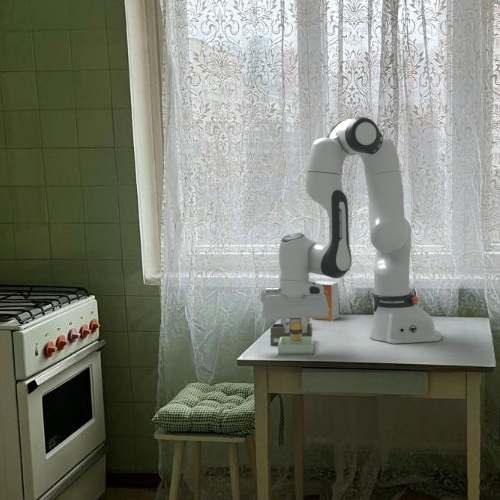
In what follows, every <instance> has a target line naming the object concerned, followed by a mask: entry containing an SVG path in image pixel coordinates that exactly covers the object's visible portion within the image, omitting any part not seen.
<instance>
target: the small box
mask: <svg viewBox="0 0 500 500" xmlns="http://www.w3.org/2000/svg"><path fill="white" fill-rule="evenodd" d="M315 283H319V284H321V285H322V286H323V287H324V292H323V293H324V294H325V296H326V299H327V303H328V309H329V315H328V316H327V317H322V318H311V319H313V320H323V321H334V320H336V319H338V318H339V317H340V316H339V315H340V310H339V305H340V304H339V303H340V302H339V282H338V281H326V280H317V281H315Z"/></svg>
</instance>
